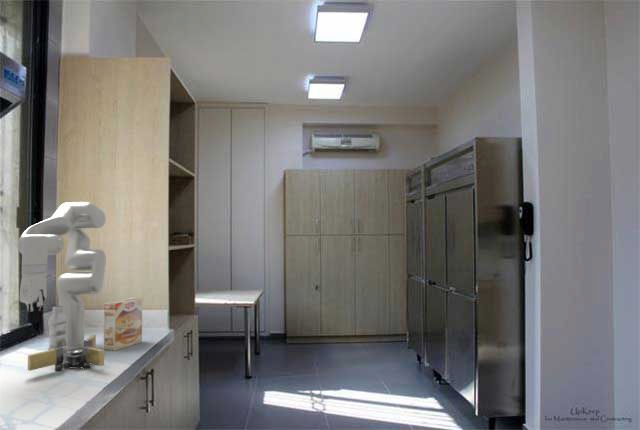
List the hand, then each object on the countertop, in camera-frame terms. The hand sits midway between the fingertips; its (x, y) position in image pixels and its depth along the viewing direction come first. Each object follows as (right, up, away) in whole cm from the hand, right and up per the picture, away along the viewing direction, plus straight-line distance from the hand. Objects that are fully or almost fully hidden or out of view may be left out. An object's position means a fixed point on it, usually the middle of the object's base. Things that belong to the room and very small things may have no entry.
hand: (33, 322), depth 150 cm
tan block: (+20, -17, +2) cm, 26 cm away
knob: (+10, -18, +18) cm, 27 cm away
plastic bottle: (-1, -18, +16) cm, 24 cm away
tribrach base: (+11, -18, +7) cm, 22 cm away
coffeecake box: (+15, -19, +35) cm, 43 cm away
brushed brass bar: (+5, -17, -2) cm, 18 cm away
